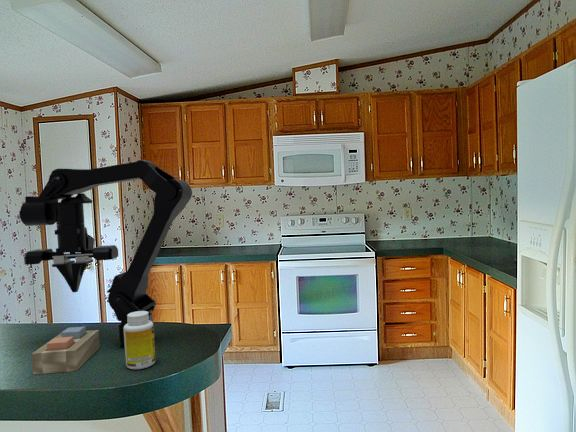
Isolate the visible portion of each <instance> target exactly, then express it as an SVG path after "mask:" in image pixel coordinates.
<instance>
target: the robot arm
mask: <svg viewBox="0 0 576 432" xmlns="http://www.w3.org/2000/svg"><path fill="white" fill-rule="evenodd" d="M48 177H49V178H48V181H47V183H45V185H44V187H43V189H42V191H41V192H40V194H39V196H35V195H33V196H32V195H31V196H30V195H29V196H25V197H24V199H25V200H24V203H22V205H21V207H20V210H19V218H20V221H21V223H22V224H23V225H25V226H27V227H28V226H29V227H33V226H53V225H56V229H55V230H54V236H55V235H56V236H57V248H55V251H53V249H52V248H38V249H37V248H36V249H34V250H29V251H26V252H25V253H24V257H23V261H24V265H27V266H29V265H40V264H41V262H45V261H52V260H53V261H52V263H53V264H51V267H52V268H56V269H57V270H58V272H59V273H60V274H61V276H62V277H63V278H64V280H65V282H66V283H67V285H68V287H69V289H70V290H71V292H72V293H77V292H79V289H80V285H81V282H82V279H83V275H84V273H85V270H86V268H87V266H89V264H91V263H93V262H94V260H96V261H110V260H114V259H116V258H118V257H119V249H118V247H117V245H115V244H112V245H111V244H110V245H99V246H96V247H95V238H94V237H93V236H91V235H89V233H88V229H87V227H85V226H86V225H85V214H84V213H85V212H84V211H85V210H84V204H92V203H93V200H92V199H91V198H89V197H88V196H87V195H86V192H88V191H90V190H92V189H94V188H97V187H99V186H104V185H111V184H118V183H123V182H130V181H136V180H141V181H142V182H143V183H144V184H145V185H146V186H147V187H148V188H149V189H150V190H152V191H153V192H154V193H155V196H154V199H153V213H152V216H151V219H150V221H149V223H148V226H147V228H146V230H145V232H144V235H143V236H142V238H141V240H140V243H139V245H138V247H137V249H136V252H135V254H134V256H133V258H132V261H131V263H130V265H129V267H128V269H127V271H124V272H122V273H119V274H116V275H114V277H113V279H112V283H111V286H110V287H109V289H107V290H106V293H108V295H107V296H108V297H107V303H108V304H109V306H110V308H111V309H112V310H113V312H114V314H115V317H116V319H117V322H120V323H119V325H118V333H119V343H120V345H119V348H121V349H122V348H125V345H124V326H125V325H126V324H127V315H128V314H129V313H132V312H136V311H147V312H148V314H149V320H150V321H152V322H153V311H155V308H156V305H157V302H156V301H155V300H154V299H153V298H152V297H151V295H149V294H148V293H147V290H148V287H149V274H150V272H151V269H152V267H153V265H154V263H155V262H156V259H157V257H158V254H159V252H160V250H161V247H162V246H163V243H164V241H165V239H166V237H167V235H168V232H169V231H170V228H171V226H172V224H173V222H174V221H175V219H176V218H177V217H178V216H179V214H181V212H182V211H183V210H184V209H185V207H186V206H187V205H188V204H189V202H190V200H191V198H192V196H193V190H192V187H191V185H190V184H189V183H188V181H186V180H182V179H177V178H176V177H174V176H173V175H171V174H170V173H168V172H166V171H164V170H163V169H161V168H160V167H159V166H158V165H156V164H155V163H154V162H153V161H150V160H145V159H139V160H136V161H133V162H126V163H120V164H114V165H108V166H103V167H95V168H90V169H88V168H87V169H83V168H56V169H54V170H51V173H50V174H49V176H48ZM152 191H151V192H152ZM84 192H85V193H84ZM74 195H76V196H74ZM59 200H61V201H59ZM72 259H74V260H72ZM153 323H154V322H153ZM156 337H157V336H156V334H154V339H155V338H156Z"/></svg>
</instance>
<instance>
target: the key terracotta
mask: <svg viewBox="0 0 576 432" xmlns="http://www.w3.org/2000/svg"><path fill="white" fill-rule="evenodd" d="M53 338H54V339H53ZM53 338H52V339H53V340H52V339H50V340H51V341H50V340H49V341H50V342H49V341H48V342H49V343H48V342H46V343H47V351H52V350H65V349H69V348H70V347H71V346H72V345H74V336H73V337H60V338H55V337H53Z"/></svg>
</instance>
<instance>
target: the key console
mask: <svg viewBox="0 0 576 432" xmlns="http://www.w3.org/2000/svg"><path fill="white" fill-rule="evenodd" d="M60 337H61V332H59V334H57V335H56V336H55V337H53V338H52V339H50V340H49V341H48V342H46V343H44V345H42V346H41V347H39V348H38V349H37V350H35V351H34V352H31V361H32V373H33V374H32V375H44V374H54V373H69V372H77V371H78V370H79V369H80V368H81V367H82V366H83V365H84V364H85V363H86V362H87V361H88V360H89V359H90V358H91V357H92V356H93V355H94V354H95V353H96V352H97V351H98V350H100V348H101V347H100V346H101V345H100V344H101V343H100V331H99V329H94V330H93V329H92V330H91V329H90V330H86V335H84V336H83V337H82V338H81V339H74V345H72V346H71V347H70V348H69V349H65V350H52V351H47V343H49V342H50V341H51V340H53V339H54V338H60Z"/></svg>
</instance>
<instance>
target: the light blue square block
mask: <svg viewBox="0 0 576 432" xmlns="http://www.w3.org/2000/svg"><path fill="white" fill-rule="evenodd" d="M86 331H87V329H86V326H85V325H83V326H72V327H67V328H65V329H64V330H63V331H62V332H60V333H61V337H73V336H74V339H81V338H82V337H83V336H84V335H86Z"/></svg>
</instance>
